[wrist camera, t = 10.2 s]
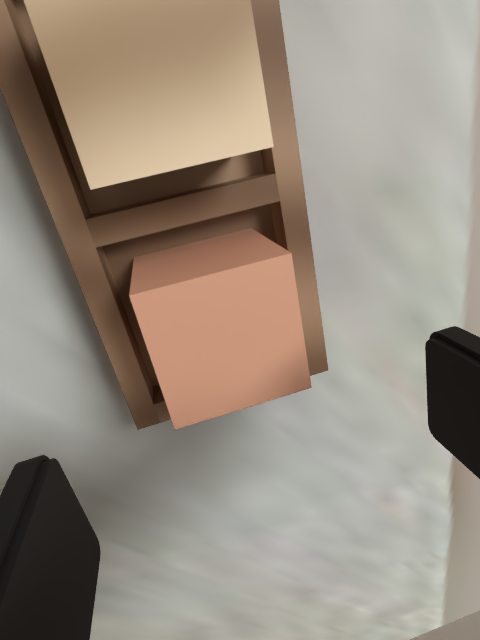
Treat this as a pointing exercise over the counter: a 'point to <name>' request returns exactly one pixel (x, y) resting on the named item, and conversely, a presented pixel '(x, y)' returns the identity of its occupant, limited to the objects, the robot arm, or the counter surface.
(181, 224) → the walnut tray
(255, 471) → the counter surface
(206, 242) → the brick cube
